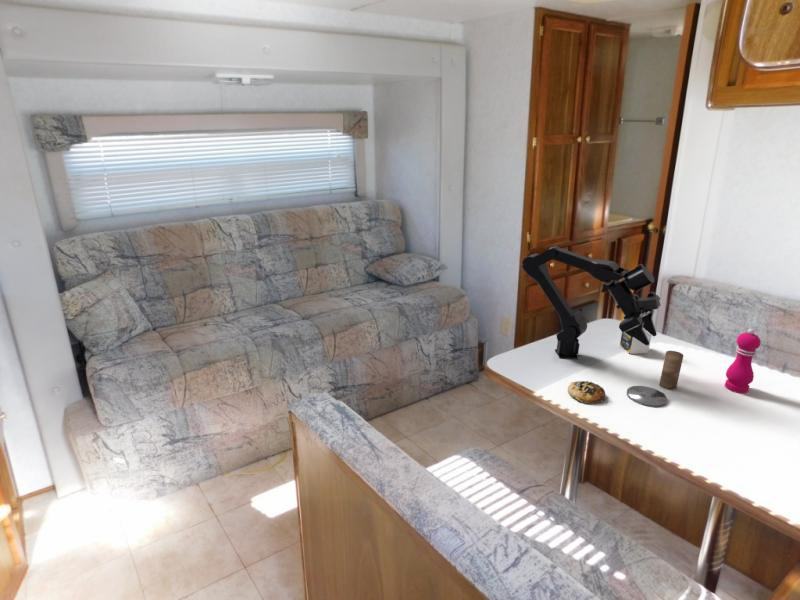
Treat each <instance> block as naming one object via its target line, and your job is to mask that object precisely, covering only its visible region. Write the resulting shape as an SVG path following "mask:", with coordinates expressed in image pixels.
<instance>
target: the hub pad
mask: <svg viewBox="0 0 800 600" xmlns="http://www.w3.org/2000/svg"><path fill="white" fill-rule="evenodd" d="M626 396H627V397H628V398H629V399H630V400H631V401H633V402H634V403H637V404H639V405H643V406H646V407H652V408H653V407H662V406H665V405H666V404H667V403H668V397H667V396H666V394H665V393H664V392H662V391H660V390H658V389H656V388H655V387H654V388H653V387H649V386H645V385H632V386H629V387H628V388H627V389H626Z"/></svg>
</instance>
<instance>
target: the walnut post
mask: <svg viewBox="0 0 800 600" xmlns="http://www.w3.org/2000/svg"><path fill="white" fill-rule="evenodd" d="M683 359H684V354H683V353H682V352H679V351H676V350H667V351H665V356H664V361H663V365H662V370H661V375H660V379H659V380H660V381H659V384H658V385H659V386H660V387H661V388H662V389H664V390H668V391H674V390H676V389H677V387H678V384H679V383H678V382H679V378H680V373H681V369H682V364H683Z"/></svg>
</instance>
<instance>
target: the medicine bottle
mask: <svg viewBox="0 0 800 600" xmlns="http://www.w3.org/2000/svg"><path fill="white" fill-rule="evenodd" d="M643 330H644V332H645V334H646V336H647V339H648V341H649V343H650V344H649V345H645V344H643V343H642V342H640V341H639V340H637V339H635V338H634V337H632V336H630V335H629V334H627V333H625V332H622V331H621V336H620V342H619V347H620V348H622V349H623V348H624V349H625V350H626V351H625V350H624V349H623V350H624V351H625V352H627V353H628V354H629V353H630V354H629V355H633V354H634V355H636V354H637V355H638V353H643V354H649V350H650V345H651V339H652V335H651V334H650V333H649V332H648V331H646V330H645V329H644V328H643Z"/></svg>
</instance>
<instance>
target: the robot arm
mask: <svg viewBox="0 0 800 600" xmlns="http://www.w3.org/2000/svg"><path fill="white" fill-rule="evenodd" d="M550 261H557V262H558V263H559V262H560V263H562V264H565V265H568V266H570V267H573V268H576V269H578V270H582V271H584V272H586V273H588V274H589V275H590V276H591V277H593V278H594V279H596V280H598V281H600V282H601V283H602V282H603V284H602V288H601V290H600V292H601V293H605V292H607V291H608V292H609V293H610V295H611V296H612V298H613V299H614V301H615V303H616V306H615V307H616V308H617V309H618V310H619V309H620V311H621V312H622V313H623V315H624V316H623V317H622V318H623V319H622V320H621V322H620V323H619V324H618V328H619V330H620V331H621V333H622V332H625V333H627V334H629V335H630V336H632V337H634V338H635V339H637V340H639V341H640V342H642V343H643V344H645V345H649V344H650V345H651V342H650V343H649V341H648V339H647V336H646V334H645V332H644V330H643V328H644V329H645V330H646V332H648V333H649V334H650V335H651V337H656V336H657V335H658V333H657V330H656V327H655V325H654V321H653V316H654V313H655V310H658V309H659V308H660V306H661V301H660V300H661V297H659V295H657V294H656V292H655V291H651V292H648V293H647V295H646V296H643V297H640V296H639V295H638V294H635V293H634V292H633V291H636V292H639V291H640V290H642V289H644V288H646V287H648V286H650V285H653V284H654V283H655V277H654V274H653V273H652V272H651V270H650V269H648V268H647V267H646V266H644V264H643V263H639V264H638V265H637V266H636V267H634V268H632V269H629V270H628V269H627V268H623V267H622V266H619V265H618V263H617V262H615V261H613V260H607V259H599V258H598V259H596V258H595V259H594V258H590V257H587V256H585V255H582V254H578V253H576V252H573V251H572V250H571V251H570V250H567V249H564V248H562V247H560V246H559V245H556V246H555V245H554V246H551V247H549V248H548V249H547V250H544V251H543V252H542V253H533V254H531V255H529V256H526V257H525V258H523V260H522V263H521V268H522V269H523V271H524V273H526V275H528V277H530V278H531V279H532V280H534V281H536V283H537V284H538V285H539V287H540V288H541V290H542V291H543V293H544V295H545V296H546V298H547V300H548V301H549V302H550V305H552V307H553V308H554V310H555V312H556V313H557V315H558V316H559V320H560V326H561V328H562V329H561V330H560V331H559V332H557V334H555V335H556V340H557V344H556V348H555V349H554V352H555V353H556V355H557V356H558V358H560V359H579V356H578V355H579V351H580V343H579V339H578V338H579V337H581V336H582V335H583V334H584V333H585V332H586V331H587V329H588V323H587V321H588V319H587V318H585V317H584V315H583V313H582V311H581V310H578V311H577V312H576V311H575V310H574V309H572V307H571V306H570V305H569V303H568V301H567V300H566V298H565V296H564V295H563V294H562V292H561V290H560V289H559V288H558V286H557V284H556V283H555V281H554V280H553V278H552V276H551V275H550V272H549V266H548V262H550ZM621 279H622V280H621Z"/></svg>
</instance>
